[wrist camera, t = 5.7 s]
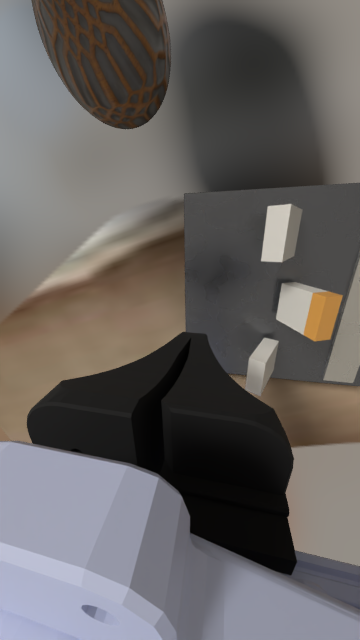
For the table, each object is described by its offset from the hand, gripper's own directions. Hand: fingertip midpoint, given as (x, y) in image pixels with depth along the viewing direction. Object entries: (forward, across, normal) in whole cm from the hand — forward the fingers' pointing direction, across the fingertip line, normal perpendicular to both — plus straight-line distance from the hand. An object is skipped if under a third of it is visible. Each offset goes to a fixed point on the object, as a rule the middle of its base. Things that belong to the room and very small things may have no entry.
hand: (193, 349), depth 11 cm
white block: (+8, -6, -6) cm, 12 cm away
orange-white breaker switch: (+8, -6, -1) cm, 10 cm away
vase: (+10, +6, -16) cm, 20 cm away
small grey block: (+8, -6, +4) cm, 11 cm away
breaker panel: (+10, -6, -1) cm, 12 cm away
